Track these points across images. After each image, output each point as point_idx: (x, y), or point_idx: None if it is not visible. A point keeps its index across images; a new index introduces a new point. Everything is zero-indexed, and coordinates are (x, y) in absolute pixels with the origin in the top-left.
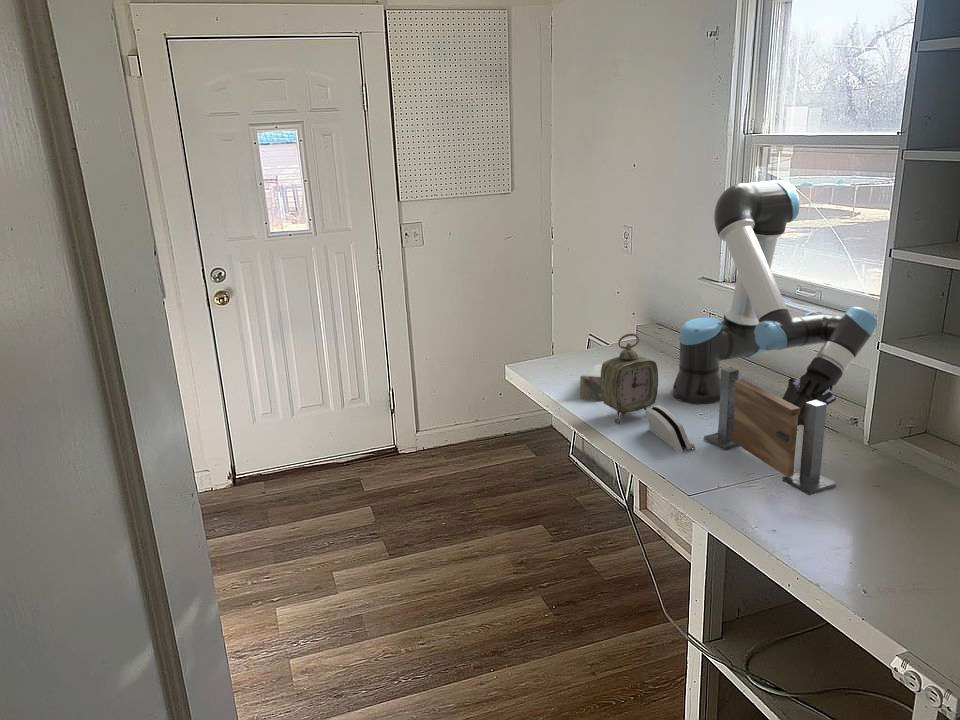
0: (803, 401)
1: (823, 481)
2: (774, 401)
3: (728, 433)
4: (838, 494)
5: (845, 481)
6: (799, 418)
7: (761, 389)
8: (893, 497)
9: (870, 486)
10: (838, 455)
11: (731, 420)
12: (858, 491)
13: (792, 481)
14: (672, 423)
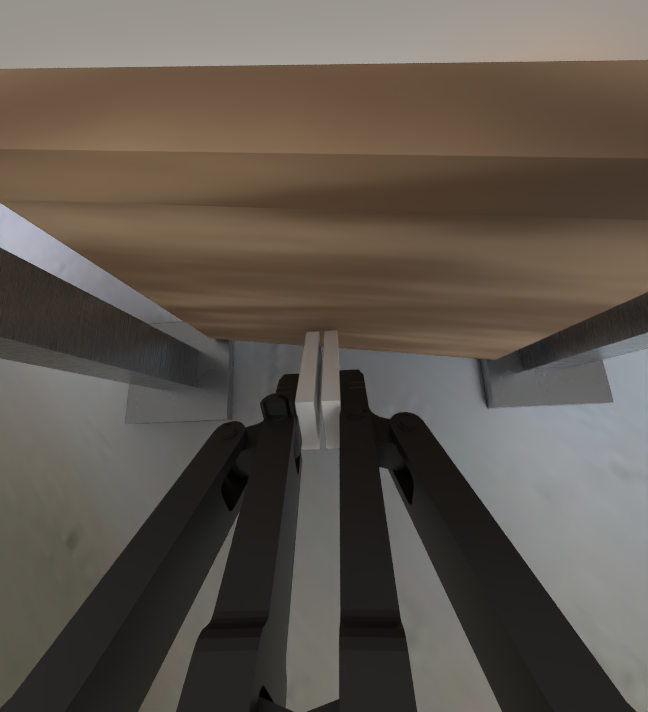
0: (263, 558)
1: (151, 398)
2: (148, 72)
3: None
4: (106, 397)
5: (141, 478)
6: (231, 429)
7: (488, 140)
8: (8, 519)
9: (81, 518)
10: None
11: (577, 326)
12: (85, 460)
13: None
14: None
